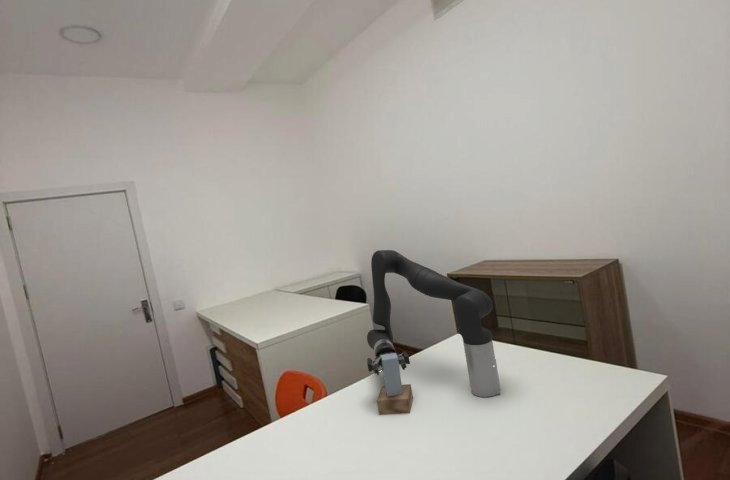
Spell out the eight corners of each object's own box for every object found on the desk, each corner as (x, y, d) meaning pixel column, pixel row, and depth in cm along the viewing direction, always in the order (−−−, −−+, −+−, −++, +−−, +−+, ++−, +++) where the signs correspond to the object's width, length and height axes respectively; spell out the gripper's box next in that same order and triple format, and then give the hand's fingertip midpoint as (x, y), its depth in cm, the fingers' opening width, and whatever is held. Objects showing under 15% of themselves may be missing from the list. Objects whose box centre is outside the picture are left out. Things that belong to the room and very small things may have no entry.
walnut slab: (413, 398, 133) (410, 384, 133) (410, 413, 123) (407, 398, 123) (384, 399, 135) (382, 386, 135) (379, 415, 126) (376, 400, 125)
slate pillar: (400, 387, 131) (395, 352, 131) (402, 394, 126) (398, 357, 126) (385, 390, 131) (380, 355, 131) (387, 396, 126) (382, 360, 126)
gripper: (363, 346, 142) (367, 362, 126) (402, 338, 143) (410, 354, 127) (367, 366, 143) (371, 385, 127) (405, 358, 144) (414, 376, 127)
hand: (390, 369), depth 127 cm, fingers open, 8 cm apart
